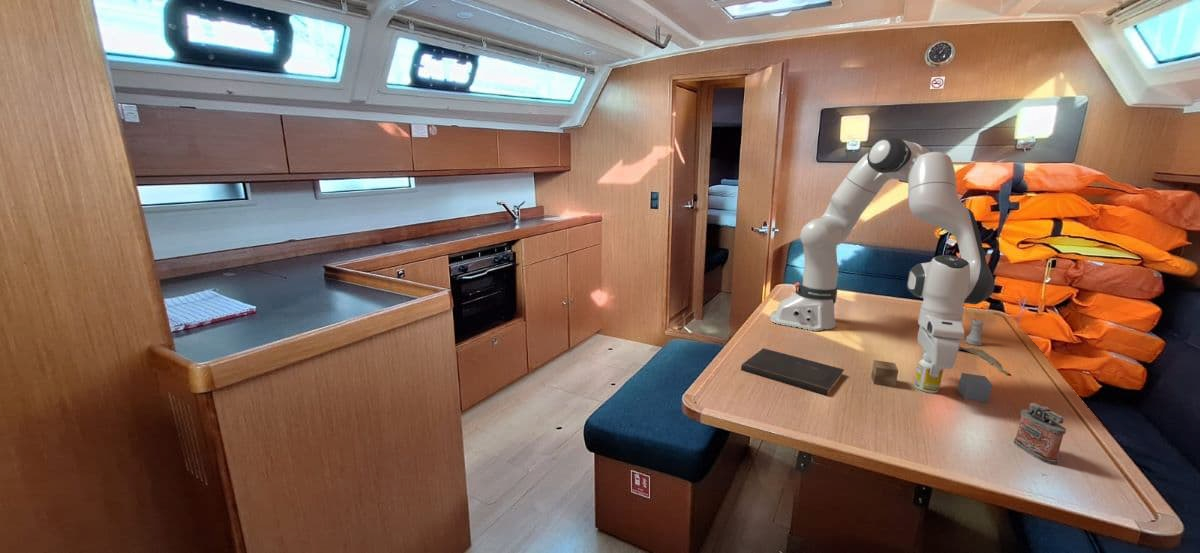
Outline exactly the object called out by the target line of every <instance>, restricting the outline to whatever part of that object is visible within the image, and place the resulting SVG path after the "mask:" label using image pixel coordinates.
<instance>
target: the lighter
mask: <svg viewBox="0 0 1200 553" xmlns="http://www.w3.org/2000/svg"><path fill="white" fill-rule="evenodd" d="M1064 421H1065V418H1064V417H1063V416H1062V415H1060V414H1058V413H1056V412H1054V411H1051V409H1050V408H1049V407H1048V406H1041V405H1039V404H1037V403H1033V402H1032V403H1031V402H1030V404H1029V409H1021V411H1020V420H1019V424H1018V428H1017V431H1016V432H1017V433H1016V435H1015V437H1014V439H1013V444H1014V445H1016V446H1017V447H1018V448H1019V449H1021V450H1023V451H1024V452H1025V453H1027V454H1029V455H1030V456H1032V457H1034V458H1035V459H1038V460H1039V461H1041V462H1043V463H1045V464H1048V465H1056V464H1058V460H1059V459H1058V455H1059V452H1060V448H1061V445H1062V442H1063V437H1064V435H1065V434H1066V432H1067V429H1066V428H1065V427H1064V426H1062V424H1064Z"/></svg>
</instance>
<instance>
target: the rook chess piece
mask: <svg viewBox="0 0 1200 553" xmlns="http://www.w3.org/2000/svg"><path fill="white" fill-rule="evenodd" d="M971 324H972V325H971V330H970V331H969V332H970V333H969V334H968V335H967V336H966V338H965V340H964V342H965V343H966V342H967V344H969V345H971V344H972V345H971V346H977V345H979V346H981V345H982V344H983V343H982V342H983V339H982V336H981V331H982V330H983V328H982V327H983V326H984V325H985V323H984V320H982V319H979V318H978V319H976V318H975V319H974V318H973V320H972V321H971Z"/></svg>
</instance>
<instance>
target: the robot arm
mask: <svg viewBox="0 0 1200 553" xmlns="http://www.w3.org/2000/svg"><path fill="white" fill-rule="evenodd" d="M956 178H957V177H956V172H955V166H954V163H953V160H952V158H951V157H950V155H948V154H947V153H944V152H941V151H933V150H931V149H928V148H926V147H925V146H923V145H921V144H918V143H916V142H911V141H909V140H904V139H902V138H900V137H896V136H883V137H881V138H879V139H877V140H876V141H874V143H873V144H872V145H871V147H870V148H869V150H868V152H866V154H864V155H863V156H862V157H861V158H860V159H859V160H858V161H857V162H856V163H855V165H853V167H852V168H851V169H850V170H849V172H848V173H847V175H846V176H845V177H844V178H843V180H842V181H841V183H840V184H839V185H838V187H837V188H836V190H835V191H834V192H833V194H832V195H831V198H830V200H829V203H828V206H827V207H826V210H825V211H824V213H823V214H822V216H820V217H819V218H814V219H811V220H810V221H808V222H807V223H806V224H805V225H804V226H803V227H802V229H801V231H800V233H799V234H800V241H801V243H802V245H803V246H802V247H803V257H804V267H803V276H802V277H803V278H802V283H800V282H796V283H794V287H795V293H793V294H792V295H790V296H788V297H786V298H784V299H782V300H781V301H780V302H779V304H778V305H777V309H776V310H775V311H773V312H771V313H770V316H769V320H770V322H771V323H773V322H774V323H773V324H775V323H776V324H775V325H780V324H781V326H785V325H786V327H791V326H792V327H791V328H796V327H798V328H797V329H801V328H803V329H802V330H807V329H808V331H812V330H814V331H813V332H820V331H824V330H823V329H825V330H830V329H831V330H832V329H835V328H836V327H837V324H836V316H835V315H836V314H835V303H836V302H837V297H838V287H837V283H838V276H839V269H840V266H839V263H838V256H837V248H838V246H839V245H840V244H843V243H844V242H845V241H846V239H847V238H848V237H849V235H850V234H851V232H852V231H853V229H854V227H856V224H857V223H858V221H859V219H860V218H861V216H862V214H863V213H864V211H865V210H866V209H867V207H868V206H869V205H870V203H871V202H872V201H873V200H874V198H875V197H876V196H877V195H878V193H879V192H880V191H881V189H882V188H883V186H885V184H886V183H887V182H888V181H890V180H893V179H894V180H898V181H899V182H901V183H904V184H905V183H906V184H908V185H907V186H908V187H907V199H908V203H907V204H908V208H909V211H910V213H911V214H912V215H913V216H914V217H915V218H916V219H918V220H919V221H921V222H924V223H925V224H928V225H932V226H935V227H937V228H940V229H941V230H944V231H945V232H948V233H949V234H951V236H953V237H954V238H955V239H956V242H957V246H958V250H959V253H960V257H959V256H955V255H950V254H949V255H948V254H943V255H937V256H934V257H933V258H932V259H931V260H930V261H928V262H922V263H917V264H915V265H914V266H913V267H912V268H911V269H910V270H909V271H908V275H907V282H906V288H907V290H908V291H909V292H910V293H911V294H912V295H913V296H914V297H917V298H920V299H923V301H922V303H921V305H920V309H919V314H918V320H917V324H918V325H919V329H918V332H917V342H918V343H919V344H920V346H921V347H922V355H923V356H924V353H925V352H926V354H927V355H928V357H929V358H930V360H931V361H932V362H931V364H932V365H931V368H930V369H929V374H930V376H931V377H938V376H939V371H940V370H941V368H944V369H943V370H945V369H946V370H951V369H952V368H953V367H954V366H955V363H956V360H957V357H958V353H959V351H960V350H959V346H960V344H961V340H964V338H965V333H966V332H965V329H964V326H963V322H964V321H963V318H964V314H965V309H964V304H968V305H974V306H975V305H978V304H981V303H982V302H985V301H986V300H987V299H988V298H990V297H991V296H992V294H994V290H995V279H994V276H993V273H992V272H991V269H990V267H989V265H988V262H987V258H986V255H985V254H986V253H985V251H984V247H983V243H982V239H981V235H980V231H979V227H978V223H977V220H976V218H975V215H974V213H973V210H971V209H970V208H968V207H966V206H965V205H964V203H963V202H962V200H961V199H960V197H959V195H958V191H957V179H956ZM819 330H820V331H819ZM960 347H961V346H960Z"/></svg>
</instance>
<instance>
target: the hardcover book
mask: <svg viewBox="0 0 1200 553" xmlns="http://www.w3.org/2000/svg"><path fill="white" fill-rule="evenodd" d="M740 371H742V372H746V373H749V374H752V375H755V376H758V377H762V378H766V379H769V380H772V381H774V382H775V381H776V382H778V383H782V384H784V385H789V386H792V387H795V388H798V389H802V390H804V391H808V392H811V393H815V394H818V395H822V396H825V397H828V394H829V393H830V392H831V390H832V388H834V386H835V385H836V383H838V381H839V379H840V378H841V377H842V376H843V372H844V371H845V369H843V368H840V367H836V366H832V365H828V364H825V363H821V362H818V361H814V360H811V359H806V358H802V357H798V356H794V355H791V354H787V353H784V352H783V353H782V352H778V351H775V350H772V349H767V348H764V347H763V348H761V349H760V350H759V351H758V352H756V353H755V354H753V355H752V356H751V357H749V358H748V359H747V360H746V361H744V362H743V363H742V364H741V366H740Z"/></svg>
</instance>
